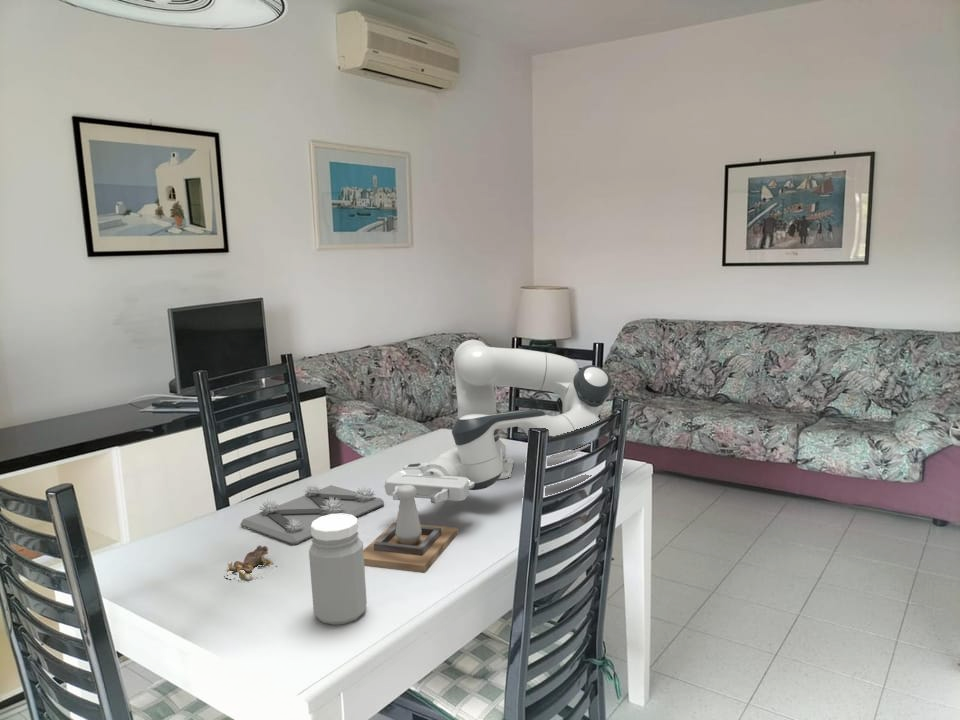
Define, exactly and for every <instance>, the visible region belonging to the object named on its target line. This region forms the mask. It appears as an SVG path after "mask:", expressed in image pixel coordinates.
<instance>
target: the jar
mask: <svg viewBox="0 0 960 720" xmlns="http://www.w3.org/2000/svg"><path fill="white" fill-rule="evenodd" d="M358 523H359V522H358V517H354V516H353V515H350V514H344V513H339V514H329V515H325V516H321V517H319V518H318V519H316V520H314V521H313V522H312V525H311V534H312V536H313V537H312V538H311V544H310V546H309V550H308V558H309V569H310V570H309V571H310V572H309V573H310V582H311V593H312V594H311V595H312V596H311V597H312V607H313V614H314V616H315V617H317V618H318V619H319V621H321V622H322V623H324V624H328V625H332V626H333V625H334V626H335V625H345V624H349V623H351V622H354V621H356V620H357V619H358V618H360V617H361V616H362V615H363V614H364V612H365V611H366V609H367V604H368V602H367V601H368V600H367V588H366V584H367V583H366V572H365V571H366V570H365V565H364V553H363V550H364V541H362V540H361V538H360V537H359V531H358V530H359V529H358V528H359V524H358Z"/></svg>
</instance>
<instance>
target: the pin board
mask: <svg viewBox="0 0 960 720" xmlns="http://www.w3.org/2000/svg"><path fill="white" fill-rule="evenodd" d="M396 525H397V521H394V522H393V523H391V524H390V525H389V526H388V527H387V528H386V529H385V530H384V531H383V532H381V534H380V535H378V536H377V537H376V538H375V539H374V540H373V541H372V542H371V543H370V544H368V545H367V546H366V547H365V548H363V553H364V566H366V567H367V566H369V567H375V568H376V567H377V568H384V569H394V570H401V571H407V572H408V571H409V572H415V573H417V572H418V573H426V572H427V571H428V570H429V568H430V567H431V566H432V565H433V563H434V562H435V561H436V560H437V559H438V557H440V556H441V554H442V553H443V552H444V551H445V549H446V548H447V547H448V546H449V545H450V544H451V542H452V541H453V540H454V539H455V538H456V537H457V536H458V527H453V526H451V527H450V526H441V525H432V524H431V525H430V524H421V523H420V525H421V530H422V533H421V536H420V539H419V541H418V542H417V543H416V545H403V544H400V542H399V540H398V538H397V536H396V534H395V532H396Z"/></svg>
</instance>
